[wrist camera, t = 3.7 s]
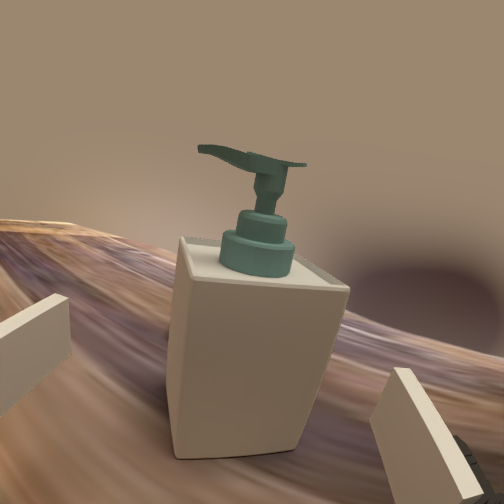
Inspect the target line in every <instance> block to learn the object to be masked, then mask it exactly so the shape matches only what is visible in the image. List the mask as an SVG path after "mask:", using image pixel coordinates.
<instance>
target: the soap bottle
mask: <svg viewBox="0 0 504 504" xmlns="http://www.w3.org/2000/svg"><path fill="white" fill-rule="evenodd" d="M198 152H199V153H204V154H210V155H213V156H215V157H218V158H220V159H222V160H224V161H226V162H228V163H229V164H231V165H233V166H235V167H237V168H240V169H242V170H245V171H248V172H253V173H256V177H255V183H254V190H255V193H256V195H257V200H256V205H255V210H243V211H241V212H240V213H239V217H238V221H237V227H236V230H228V231H225V232H224V233H223V237H222V241H219V240H210V239H201V238H193V237H185V236H183V237H181V238H180V239H179V248H178V254H177V262H176V270H175V279H174V288H173V297H172V307H171V318H170V329H169V341H168V355H167V370H166V391H167V400H168V409H169V417H170V425H171V433H172V440H173V447H174V453H175V456H176V458H178V459H197V458H222V457H236V456H248V455H257V454H266V453H274V452H281V451H288V450H293V449H295V448H296V446H297V444H298V441H299V439H300V436H301V434H302V432H303V429H304V427H305V424H306V422H307V419H308V417H309V414H310V412H311V409H312V406H313V404H314V401H315V398H316V396H317V393H318V390H319V388H320V385H321V382H322V379H323V376H324V374H325V371H326V368H327V365H328V362H329V359H330V356H331V353H332V350H333V347H334V344H335V341H336V338H337V334H338V331H339V328H340V325H341V321H342V318H343V315H344V311H345V307H346V304H347V301H348V297H349V294H350V288H349V287H348V286H347V285H345V284H344V283H342V282H340V281H339V280H338V279H336V278H334V277H333V276H331V275H330V274H328V273H327V272H325V271H323V270H322V269H320V268H319V267H317V266H316V265H314V264H312V263H311V262H309V261H308V260H306V259H305V258H303V257H301V256H300V255H298V254H297V253H295V252H294V251H295V246H294V244H293V243H292V242H290V241H288V240H285V239H284V238H285V233H286V228H287V220H286V219H285V218H283V217H282V216H279V215H276V214H274V212H275V207H276V201H277V200H278V198H279V197H280V196H281V195H282V194H283V192H284V187H285V181H286V176H287V170H288V167H306V166H307V164H306V163H293V162H287V161H282V160H277V159H273V158H269V157H266V156H262V155H259V154H255V153H252V152H247V153H244V152H241V151H238V150H235V149H232V148H228V147H225V146H218V145H198Z"/></svg>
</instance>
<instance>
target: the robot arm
mask: <svg viewBox="0 0 504 504" xmlns="http://www.w3.org/2000/svg"><path fill="white" fill-rule="evenodd" d="M71 355H72V347H71V336H70V321H69V298H67V297H64V296H61V295H59V294H56V293H55V294H53V295H51V296H49V297H47V298H45V299H43V300H41V301H40V302H38V303H36V304H34V305H32V306H30V307H28V308H27V309H25V310H23V311H21V312H19V313H17V314H16V315H14V316H12V317H10V318H8V319H7V320H5V321H3V322H1V323H0V418H1V417H2V416H3V415H4V414H6V413H7V412H8V411H9V410H10V409H11V408H12V407H13V406H14V405H15V404H16V403H18V402H19V401H20V400H21V399H22V398H23V397H24V396H25V395H26V394H27V393H29V392H30V391H31V390H32V389H33V388H34V387H35V386H36V385H38V384H39V383H40V382H41V381H42V380H43V379H44V378H45V377H47V376H48V375H49V374H50V373H51V372H52V371H53V370H55V369H56V368H57V367H58V366H59V365H60V364H61V363H63V362H64V361H65V360H66V359H67V358H68V357H69V356H71ZM369 421H370V424H371V427H372V430H373V433H374V436H375V439H376V442H377V445H378V448H379V451H380V455H381V458H382V461H383V464H384V467H385V471H386V474H387V477H388V480H389V484H390V487H391V490H392V494H393V497H394V501H395V504H504V494H502V493H499V494H495V493H494V491H493V489H492V488H491V486H490V484H489V482H488V480H487V479H486V477H485V475H484V473H483V471H482V470H481V468H480V466H479V465H477V461H476V459H475V458H474V456H472V453H471V451H470V449H469V448H468V446H467V444H466V443H465V442H463V441H462V440H461V439H460V438H459V437H458V436H457V435H455V436H452V435H451V433H450V432H449V430H448V428H447V426H446V425H445V423H444V422H443V420H442V418H441V417H440V415H439V413H438V412H437V410H436V408H435V407H434V405H433V404H432V402H431V400H430V399H429V397H428V396H427V394H426V393H425V391H424V389H423V388H422V386H421V385H420V383H419V382H418V380H417V379H416V377H415V375H414V374H413V372H412V371H411V369H408V368H396V367H394V368H393V370H392V373H391V375H390V377H389V380H388V382H387V384H386V386H385V388H384V391H383V393H382V395H381V397H380V399H379V401H378V403H377V405H376V407H375V410H374V412H373V414H372V416H371V418H370V419H369Z"/></svg>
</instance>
